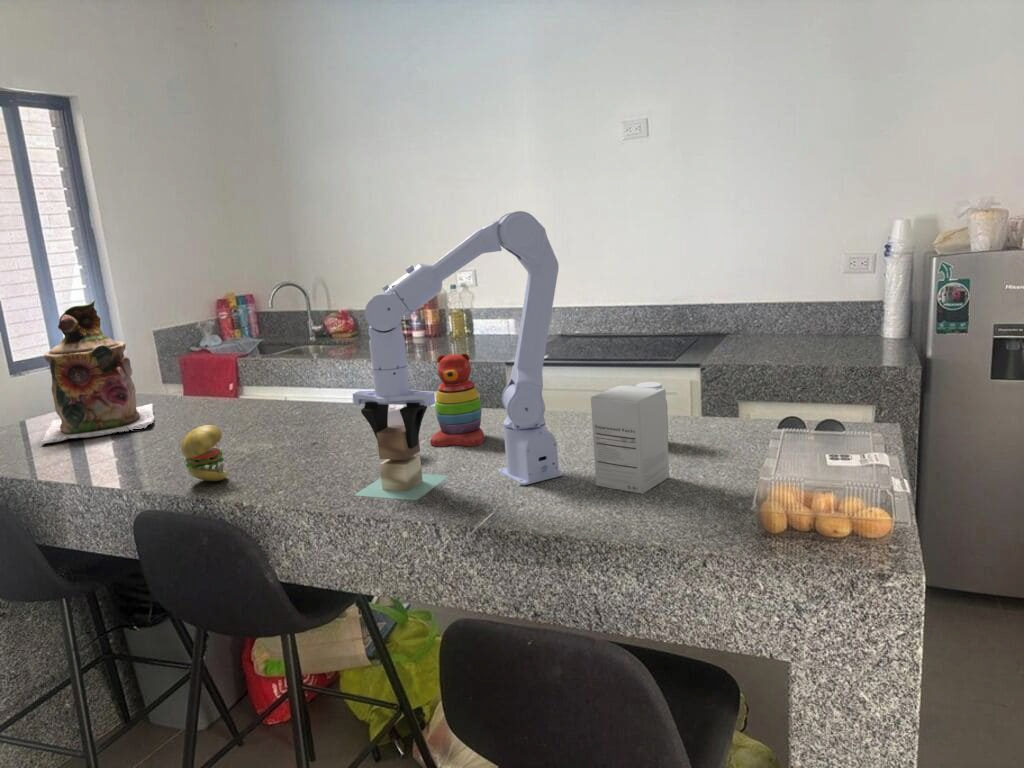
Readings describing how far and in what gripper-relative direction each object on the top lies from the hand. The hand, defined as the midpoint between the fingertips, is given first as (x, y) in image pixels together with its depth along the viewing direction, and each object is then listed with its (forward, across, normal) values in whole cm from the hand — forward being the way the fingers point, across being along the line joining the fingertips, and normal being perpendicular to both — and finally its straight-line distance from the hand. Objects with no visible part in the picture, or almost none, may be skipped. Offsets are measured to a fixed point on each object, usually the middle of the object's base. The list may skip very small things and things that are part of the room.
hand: (398, 446), depth 126 cm
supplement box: (+8, +38, +9) cm, 39 cm away
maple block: (+7, 0, 0) cm, 7 cm away
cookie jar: (+8, -102, +27) cm, 106 cm away
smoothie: (+7, -11, +16) cm, 21 cm away
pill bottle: (+7, +36, +29) cm, 47 cm away
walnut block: (+2, 0, 0) cm, 2 cm away
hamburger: (+7, -39, -4) cm, 40 cm away
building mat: (+7, 0, 0) cm, 7 cm away
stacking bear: (+8, -2, +28) cm, 29 cm away
